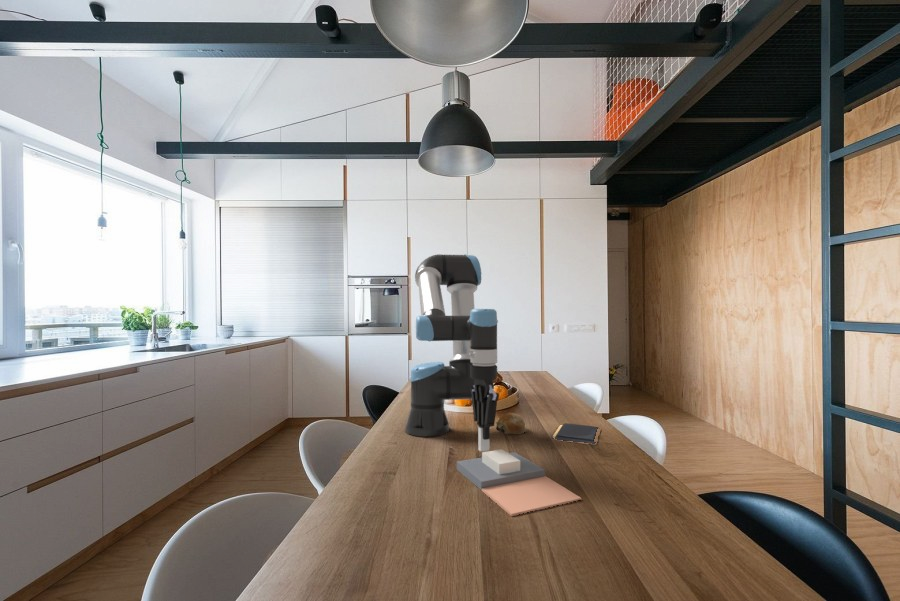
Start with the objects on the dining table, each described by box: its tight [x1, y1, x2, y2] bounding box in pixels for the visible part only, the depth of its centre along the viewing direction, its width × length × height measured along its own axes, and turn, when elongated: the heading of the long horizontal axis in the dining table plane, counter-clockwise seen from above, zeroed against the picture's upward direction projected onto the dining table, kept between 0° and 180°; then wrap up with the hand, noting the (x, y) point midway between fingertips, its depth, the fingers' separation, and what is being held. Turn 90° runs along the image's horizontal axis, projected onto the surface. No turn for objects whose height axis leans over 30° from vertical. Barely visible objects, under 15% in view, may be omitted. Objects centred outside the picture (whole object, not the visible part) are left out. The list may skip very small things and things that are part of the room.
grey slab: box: [456, 451, 546, 491], centre depth 106 cm, size 14×18×2 cm
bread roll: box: [495, 412, 527, 436], centre depth 143 cm, size 10×10×8 cm
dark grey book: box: [550, 422, 599, 444], centre depth 140 cm, size 20×2×15 cm
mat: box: [481, 475, 582, 517], centre depth 93 cm, size 13×18×1 cm
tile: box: [481, 448, 520, 474], centre depth 106 cm, size 9×6×2 cm, turn 23°
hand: (483, 449), depth 114 cm, fingers closed
